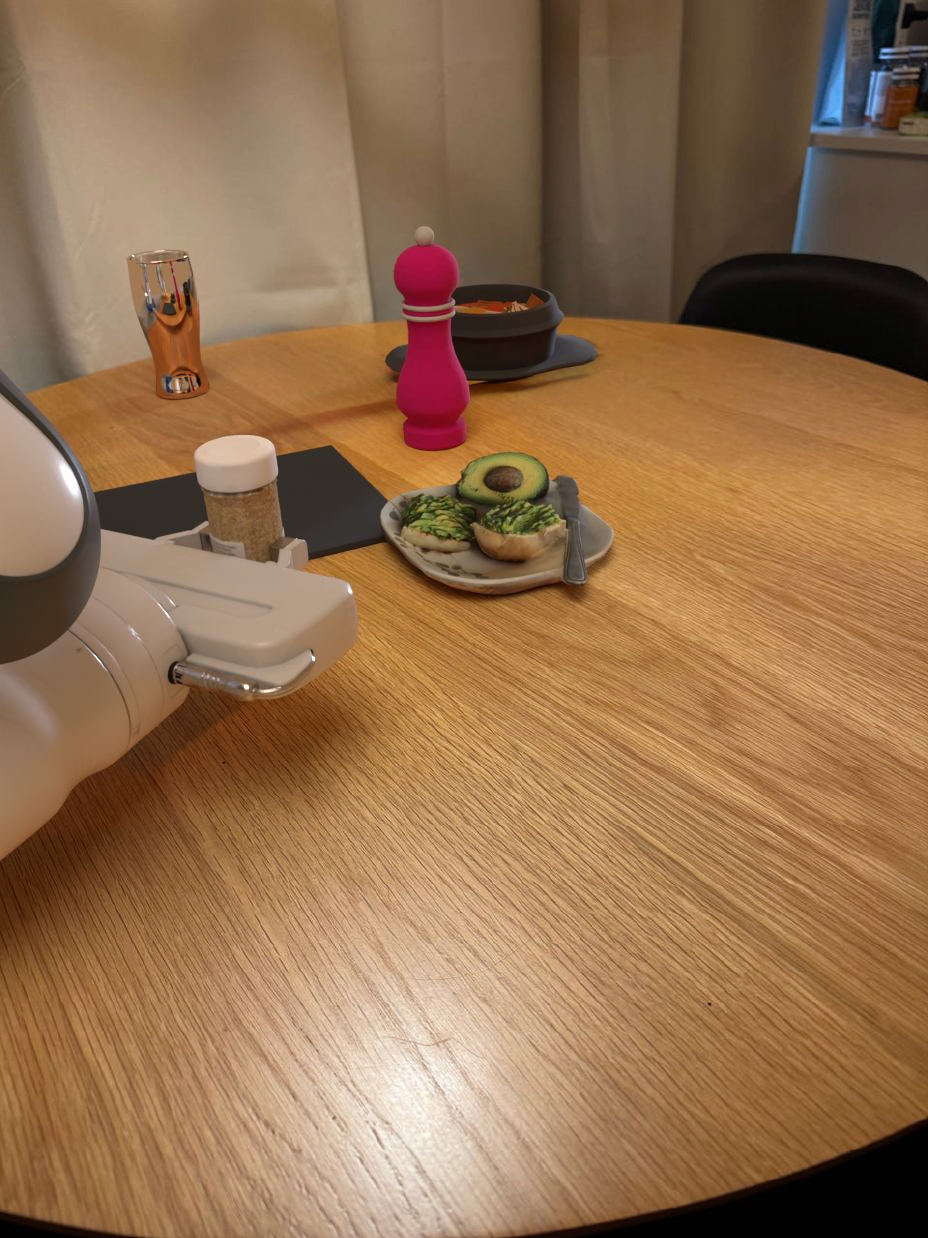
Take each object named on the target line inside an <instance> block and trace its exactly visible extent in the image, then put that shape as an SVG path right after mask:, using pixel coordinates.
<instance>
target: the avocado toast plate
mask: <svg viewBox="0 0 928 1238" xmlns="http://www.w3.org/2000/svg"><path fill="white" fill-rule="evenodd" d="M460 476H461V477H460V479H458V480H457V482H456V483H453V484H447V485H439V486H438V485H437V486H434V487H426V488H419V489H414V490H410V491H407V492H403V493H400V494H398V495H395V496H393V497H392V498H390V499H388V502H387V503H386V504H385V506H384V507H383V509H382V510H381V512H380V524H381V529H382V532H383V534H384V536H385V538H386V540H387V541H386V542H388V543H389V544H390V545H392V546H393V547H395V548H396V549H397V550H399V552H401V554H402V556H404V558H405V559H406V560H407V562H409V563H410V564H412V565H413V566H414V567H416V568H417V569H419V570H420V571H421V572H423V574H424V575H425V576H427V577H429V578H431V579H433V580H435V581H438V582H439V583H442V584H445V585H446V586H448V587H451V588H453V589H456V590H462V591H467V592H472V593H478V594H483V595H484V594H485V595H509V594H515V593H519V592H522V591H526V590H530V589H533V588H536V587H542V586H545V585H551V584H557V583H562V582H563V583H564V584H566V585H568V586H575V587H582V586H585V585H586V584H588V582H589V578H588V577H589V576H588V570H587V568H589V567H591V566H592V565H593V564H595V563H596V562H598V561H600V560H602V559H603V558H604V557H605V556H606V554H607V552H609V550H610V548H611V547H612V545H613V542H614V539H615V538H614V537H615V532H614V529H613V527H611V525H609V524H608V522H607V521H605V520H604V519H603V518H601V517H600V516H599V515H597V514H596V513H594V512H593V511H592V510H591V509H589V508H588V507H587V506H586V505H584V504H583V503H581V502H580V498H579V496H578V495H579V494H580V490H579V486H578V484H577V481H576V480H575V478H573V477H572V476H567V475H564V474H558V475H556V477H555V478H554V479H550V474H549V473H548V469H547V467H546V466H545V465H544V463H542V462H541V461H540V460H539V459H538V458H537V457H535V456H533V455H530V454H527V453H523V452H515V451H505V452H503V451H502V452H497V453H496V452H495V453H492V454H491V453H490V454H488V455H484V456H480V457H478V458H476V459H474V460H472V461H470V462H469V463H467V465H466V467H465V468H464V469H462V470H460Z"/></svg>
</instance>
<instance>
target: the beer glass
mask: <svg viewBox="0 0 928 1238" xmlns="http://www.w3.org/2000/svg"><path fill="white" fill-rule="evenodd" d="M189 255H190V253H189V252H188V251H186V250H181V249H157V250H156V249H155V250H148V251H142V252H137V253H134V254H131V255H129V256H127V257H126V263H127V270H128V279H129V286H130V287H129V288H130V292H131V298H132V302H133V303H132V304H133V306H134V311H135V313H136V316H137V320H138V323H139V326H140V329H141V330H142V331H141V332H142V333H143V336H144V339H145V341H146V344H147V346H148V348H149V351H150V355H151V357H152V361H153V366H154V373H155V374H154V375H155V393H156V395H157V396H158V397H159V398H162V399H165V400H184V399H191V398H195V397H198V396H201V395H204V394H205V393H208V391H209V390H210V388H211V386H210V382H209V379H208V377H207V373H206V371H205V368H204V365H203V360H202V354H201V317H200V315H201V313H200V300H199V293H198V289H197V283H196V278H195V274H194V270H193V266H192V263H191V258H190V256H189Z"/></svg>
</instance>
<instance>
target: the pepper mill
mask: <svg viewBox="0 0 928 1238" xmlns="http://www.w3.org/2000/svg"><path fill="white" fill-rule="evenodd" d="M434 241H435V233H434V231H433V229H432V228H431V227H430V226H427V225H422V226H419V227H418V228H417V229H416V230H415V231H414V242H415V243H416V244H414V245H412V246H410V247H408V248H405V249H404V250H403V251H402V252H401V253H400V254H399V255H398V257H397V259H396V260H395V263H394V267H393V282H394V285H395V288H396V290H397V291H398V292H399V294H401V296H402V297H403V300H401V302H400V306H401V309H402V312H401V318H403V319H404V320H406V327H407V344H408V348H407V355H406V358H405V362H404V365H403V367H402V370H401V373H399V376H398V379H397V382H396V388H395V403H396V406H397V408H398V410H399V411H400V412H401V414H402V415H403V416H404V417H406V419H405V420H404V421H403V423H402V433H403V442H404V443H405V444H406V445H407V446H409V447H411V448H413V449H417V450H422V451H441V450H447V449H452V448H456V447H458V446H459V445H461V444H463V443H464V442H465V441H466V439H467V421H466V419H465V418H464V417H463V416H462V414H463V413H464V412H466V410H467V408H468V407H469V404H470V401H471V394H470V393H471V392H470V385H469V383H468V380H467V379H466V376H465V373H464V371H463V369H462V367H461V365H460V363H459V361H458V358H457V356H456V354H455V351H454V347H453V343H452V337H451V317H453V316H454V315H455V310H454V304H455V300H454V299H453V298H451V294H452V293H453V291H454V290H455V289H456V288H457V287H458V285H459V283H460V268H459V264H458V261H457V259H456V257H455V256H454V255H453V253H452V252H451V251H450V250H448V249H447V248H446V247H444V246H442V245H438V244H435V243H434Z"/></svg>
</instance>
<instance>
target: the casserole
mask: <svg viewBox="0 0 928 1238" xmlns="http://www.w3.org/2000/svg"><path fill="white" fill-rule="evenodd" d="M451 298H453V299H454V300H455V304H454V310H455V315H454V316H453V317H451V337H452V343H453V347H454V351H455V354H456V356H457V358H458V361H459V363H460V365H461V367H462V369H463V371H464V373H465V376H466V379H467V381H481V382H478V385H479V384H481V385H482V384H483V385H490V384H506V383H507V384H508V383H512V382H518V381H521V380H525V379H529V378H532V377H535V376H537V375H541V374H546V373H549V372H552V371H557V370H562V369H566V368H572V367H579V366H584V365H586V364H589V363H591V362H593V361H594V359H596V358H597V355H598V350H597V348H596V346H594V345H593V344H592V343H590V341H588V340H586V339H584V338H582V337H579V336H576V335H573V334H559V333H558V328H559V326H560V324H561V323H562V322H563V321H564V319H565V314H564V312H563V311H562V310H561V309H560V308H559V306H558V303H557V299H556V296H555V295H554V294H553V293H552V292H550V291H548V290H545V289H542V288H539V287H534V286H529V285H521V284H511V283H510V284H509V283H487V284H486V283H485V284H471V285H463V286H457V287H456V289H455V290H454V291H453V293H452V294H451ZM407 348H408V343H405V344H402V345H398V346H396V347H394V348H393V349H391V351H389V352H388V354H387V355H386V356H385V359H384V362H385V364H386V367H388V368H389V369H390V370H391V371H394V372H396V373H398V374H400V373H401V370H402V367H403V365H404V362H405V358H406V355H407Z"/></svg>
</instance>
